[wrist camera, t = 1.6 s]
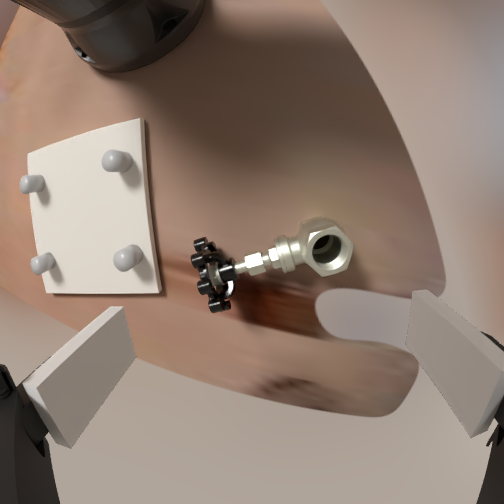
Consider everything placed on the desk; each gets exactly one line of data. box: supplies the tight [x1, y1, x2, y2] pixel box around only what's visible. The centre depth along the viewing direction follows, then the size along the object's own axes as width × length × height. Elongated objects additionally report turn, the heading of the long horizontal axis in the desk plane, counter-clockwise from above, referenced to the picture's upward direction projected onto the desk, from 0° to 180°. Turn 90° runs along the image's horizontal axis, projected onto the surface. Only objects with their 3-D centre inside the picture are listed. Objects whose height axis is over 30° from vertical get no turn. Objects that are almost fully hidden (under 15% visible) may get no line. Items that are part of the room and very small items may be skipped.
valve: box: [191, 216, 354, 313], centre depth 24 cm, size 7×7×12 cm
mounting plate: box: [20, 118, 162, 294], centre depth 26 cm, size 17×16×4 cm
